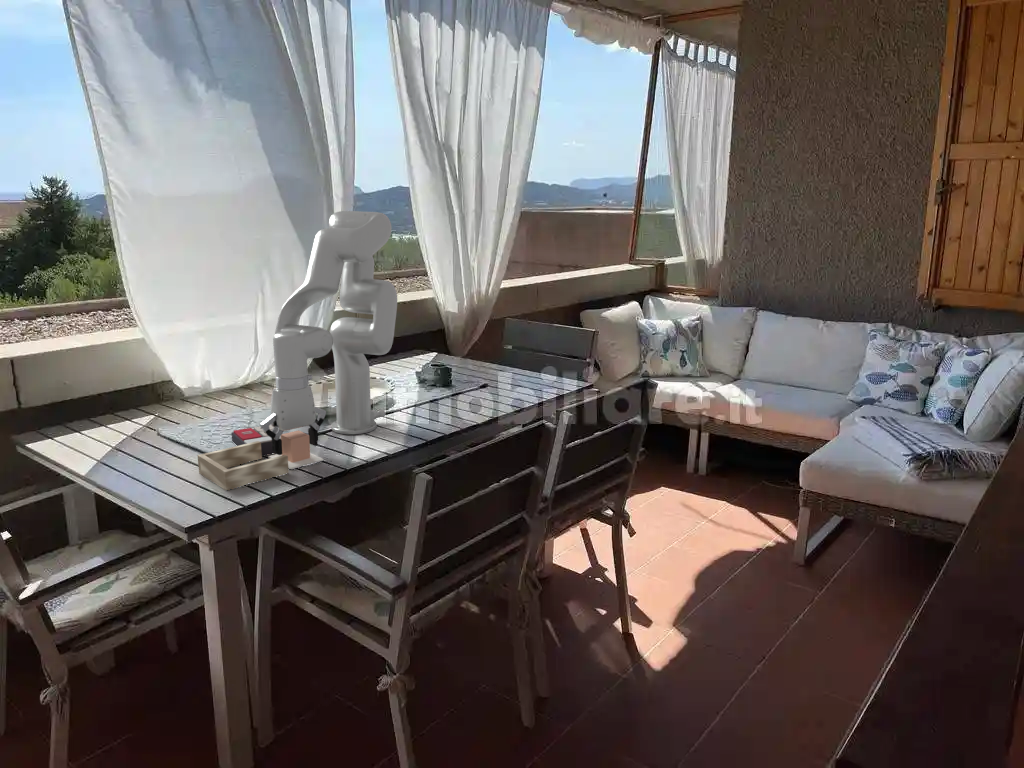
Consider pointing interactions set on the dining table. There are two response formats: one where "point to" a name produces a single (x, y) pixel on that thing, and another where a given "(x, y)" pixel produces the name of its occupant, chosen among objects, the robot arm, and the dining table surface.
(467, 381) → the dining table surface
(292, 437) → the block
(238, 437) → the calculator
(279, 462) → the u-shaped frame
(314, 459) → the mat
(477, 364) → the dining table surface
